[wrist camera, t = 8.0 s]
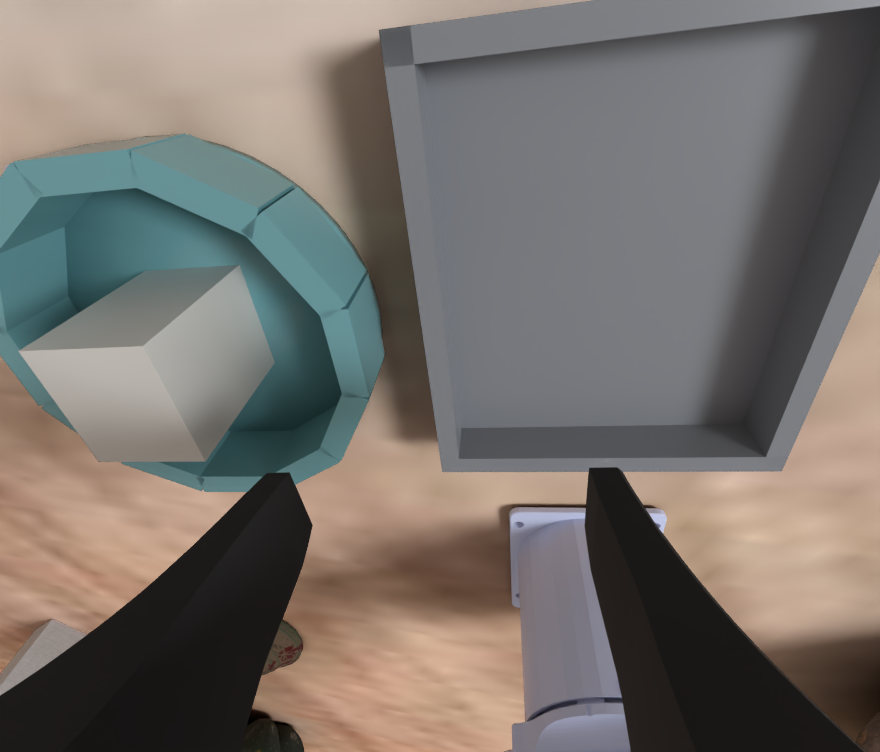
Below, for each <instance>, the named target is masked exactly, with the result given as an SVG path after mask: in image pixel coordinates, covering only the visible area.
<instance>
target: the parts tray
mask: <svg viewBox="0 0 880 752" xmlns="http://www.w3.org/2000/svg"><path fill="white" fill-rule="evenodd" d="M379 35H380V42H381V49H382V56H383V63H384V70H385V77H386V84H387V91H388V98H389V105H390V112H391V119H392V126H393V133H394V139H395V146H396V153H397V160H398V167H399V174H400V181H401V188H402V195H403V202H404V209H405V216H406V223H407V230H408V237H409V244H410V251H411V258H412V265H413V272H414V279H415V286H416V292H417V299H418V306H419V313H420V320H421V327H422V334H423V341H424V348H425V355H426V362H427V369H428V376H429V383H430V390H431V397H432V404H433V411H434V418H435V425H436V432H437V439H438V445H439V452H440V459H441V466H442V472H589V468H600V467H618V468H619V469H620V470H621V471H622V472H704V471H782V469H783V467H784V465H785V463H786V460H787V458H788V456H789V454H790V452H791V449H792V447H793V445H794V443H795V440H796V438H797V436H798V434H799V432H800V429H801V427H802V425H803V423H804V420H805V418H806V416H807V414H808V411H809V409H810V407H811V405H812V403H813V400H814V398H815V396H816V394H817V391H818V389H819V387H820V385H821V382H822V380H823V378H824V376H825V374H826V371H827V369H828V367H829V365H830V362H831V360H832V358H833V356H834V354H835V351H836V349H837V347H838V345H839V342H840V340H841V338H842V336H843V333H844V331H845V329H846V327H847V325H848V322H849V320H850V318H851V316H852V313H853V311H854V309H855V307H856V305H857V302H858V300H859V298H860V296H861V293H862V291H863V289H864V287H865V284H866V282H867V280H868V278H869V276H870V273H871V271H872V269H873V267H874V264H875V262H876V260H877V258H878V255H879V253H880V0H593V1H586V2H579V3H571V4H564V5H557V6H549V7H542V8H535V9H528V10H520V11H513V12H506V13H498V14H491V15H484V16H477V17H469V18H462V19H455V20H448V21H440V22H433V23H426V24H418V25H411V26H404V27H397V28H389V29H382V30H379Z"/></svg>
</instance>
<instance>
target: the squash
mask: <svg viewBox="0 0 880 752" xmlns="http://www.w3.org/2000/svg"><path fill="white" fill-rule="evenodd" d="M240 752H304V747H303V743H302V741H301V738H300V737H299V735H298V734H297V733H296V731H295V730H293V729H292V728H290V727H289V726H287V725H284V724H276V725H275V724H274V722H273V721H272V720H270V719H258V720H256V721H253V722H252V723H250V724H249V725H248V724H247V727H246V731H245V734H244V738H243V742H242V746H241V750H240Z"/></svg>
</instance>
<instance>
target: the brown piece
mask: <svg viewBox="0 0 880 752" xmlns="http://www.w3.org/2000/svg"><path fill="white" fill-rule="evenodd" d="M856 743H857V744H858V745H859V746H860V747H861V748H862V749H863V750H865V751H866V752H880V711H879V712H878V713H877V714H875V715H874V717H872V718H871V720H870V721H869V722H868V723H867V724H866V726H865V727H864V729H862V731H861V732H860V734H859V736H858V738H857V740H856Z"/></svg>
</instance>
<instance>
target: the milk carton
mask: <svg viewBox="0 0 880 752" xmlns="http://www.w3.org/2000/svg"><path fill="white" fill-rule="evenodd" d="M85 636H86V634H84V633H82V632H80V631H77V630H75V629H73V628H71V627H69V626H67V625H65V624H63V623H60V622H58V621H56V620H54V619H51V620H50V621H48V622H47V623H45V624H43V625H42V626H40V627H39V628H37V629H36V630H35V631H34V632H33V633H32V635H31V636H30V637H29V638H28V640H27V641H26V642H25V643H24V645H23V646H22V647H21V648H20V650H19V651H18V652H17V654H16V655H15V656H14V657H13V659H12V660H11V661H10V662H9V664H8V665H7V666H6V667H5V669H4V670H3V671H2V672H1V674H0V695H2V694H3V693H5V692H6V691H8V690H9V689H11V688H12V687H14V686H15V685H17V684H18V683H20V682H21V681H23V680H24V679H26V678H27V677H29V676H30V675H32V674H33V673H35V672H36V671H38V670H39V669H41V668H42V667H44V666H45V665H46V664H48V663H49V662H51V661H52V660H53V659H55V658H56V657H58V656H59V655H60V654H62V653H63V652H64V651H66V650H67V649H68V648H70V647H71V646H73V645H74V644H75V643H77V642H78V641H79V640H81V639H82V638H84V637H85Z"/></svg>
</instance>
